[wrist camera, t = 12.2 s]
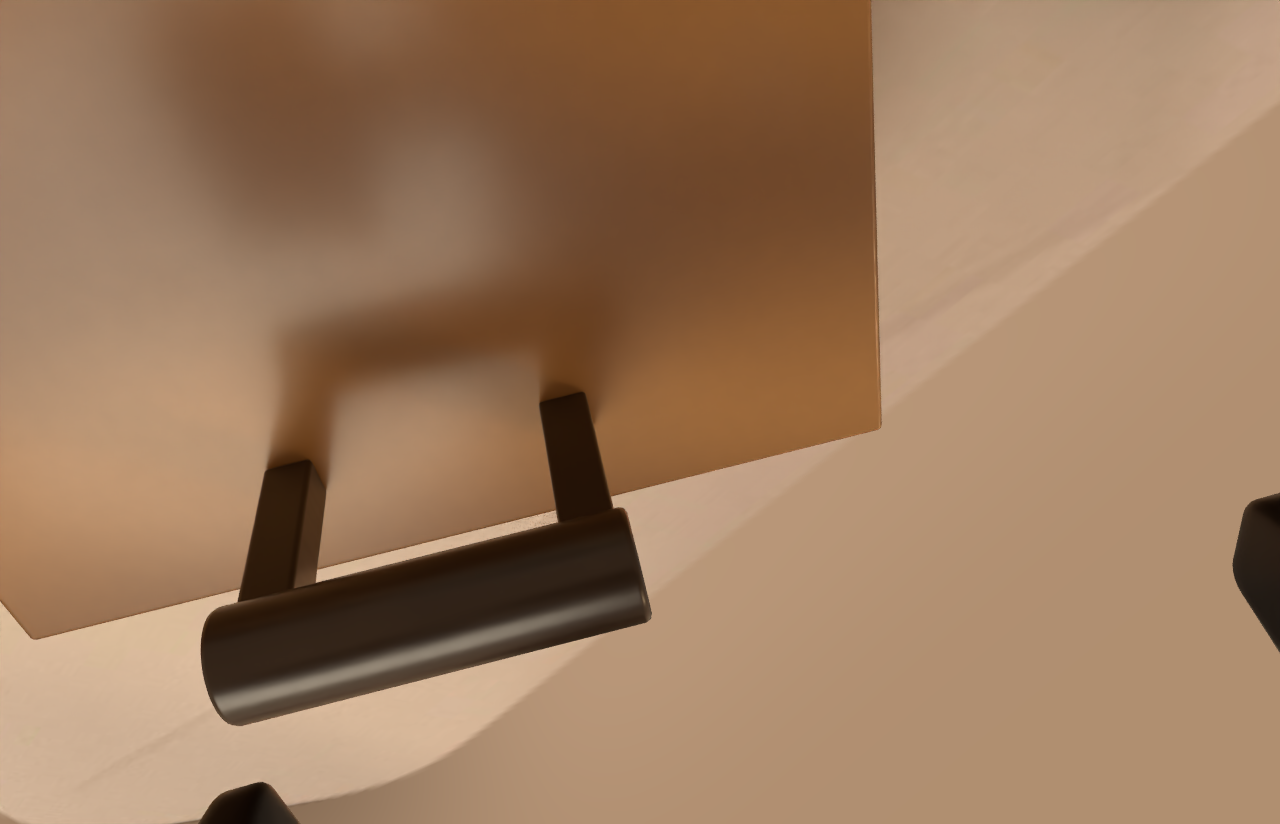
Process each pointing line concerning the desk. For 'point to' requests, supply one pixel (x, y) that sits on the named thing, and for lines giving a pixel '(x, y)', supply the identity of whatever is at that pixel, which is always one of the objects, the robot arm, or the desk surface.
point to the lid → (410, 308)
